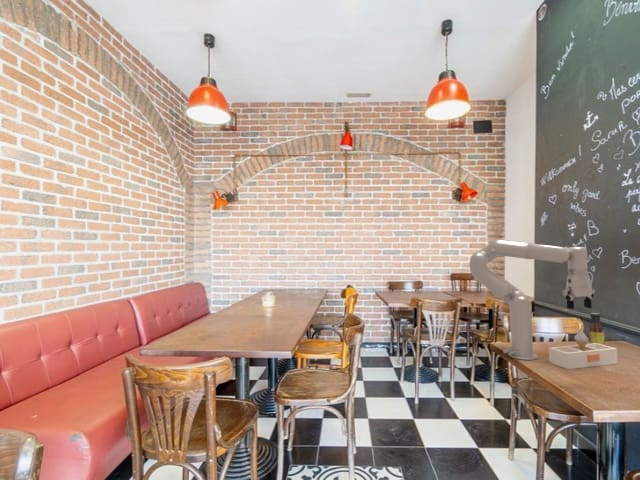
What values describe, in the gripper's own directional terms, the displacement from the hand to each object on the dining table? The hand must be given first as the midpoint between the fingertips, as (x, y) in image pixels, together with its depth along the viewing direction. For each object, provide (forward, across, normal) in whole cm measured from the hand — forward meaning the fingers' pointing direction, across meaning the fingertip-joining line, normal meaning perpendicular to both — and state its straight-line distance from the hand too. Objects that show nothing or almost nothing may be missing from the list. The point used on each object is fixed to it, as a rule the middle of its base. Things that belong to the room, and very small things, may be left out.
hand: (579, 308), depth 165 cm
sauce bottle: (+26, +22, +12) cm, 36 cm away
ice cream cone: (+25, 0, -1) cm, 25 cm away
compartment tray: (+26, 0, -1) cm, 26 cm away
